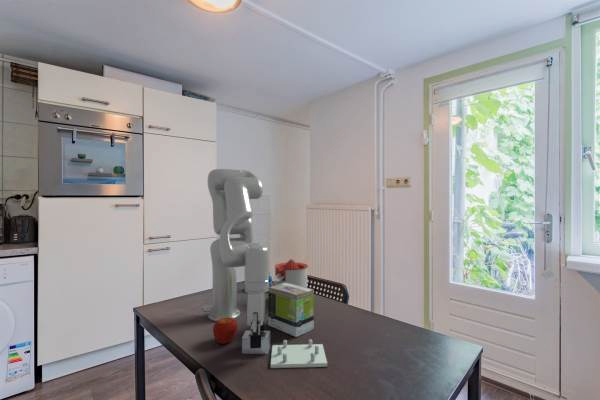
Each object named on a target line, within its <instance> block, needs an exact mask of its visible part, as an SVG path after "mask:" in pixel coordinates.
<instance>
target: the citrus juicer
mask: <svg viewBox="0 0 600 400" xmlns="http://www.w3.org/2000/svg"><path fill="white" fill-rule="evenodd" d="M308 267H309V266H308V264H306V263H304V262H296V261H295V260H293V259H292V258H291V259H289V260H288V261H287V262H281V263H277V264H275V265H274V272H275V273H274V275H275V276H274V286H275V285H279V284H283V283H290V284H294V285H298V286H302V287H306V288H308Z"/></svg>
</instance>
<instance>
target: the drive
mask: <svg viewBox="0 0 600 400" xmlns="http://www.w3.org/2000/svg"><path fill="white" fill-rule="evenodd" d="M250 334H251V330H245V331H244V333H243V335H242V337H241V354H248V355H249V354H252V355H255V354H256V355H268V354H269V352H270V348H271V330H264V331H260V334H261V348H250Z"/></svg>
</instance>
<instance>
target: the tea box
mask: <svg viewBox="0 0 600 400" xmlns="http://www.w3.org/2000/svg"><path fill="white" fill-rule="evenodd" d="M267 292H268V297H267V298H268V301H267V303H268V305H267V306H268V307H267V308H268V309H267V310H268V312H267V313H268V315H267V317H268V318H267V319H268V320H267V321H268V326H270V327H272V328H274V329H277V330H279V331H282V332H284V333H286V334H288V335H290V336H293V337H295V338H297V337H300V336H302V335H304V334H306V333H308V332H310V331H312V330H314V328H315V327H314V325H315V322H314V321H315V305H314V304H315V297H314V295H315V293H314V292H315V291H314V289H313V288H309V287H307V288H306V287H302V286H298V285H294V284H290V283H283V284H279V285H275V284H274V285H272V286H271V287H269V290H268V291H267Z"/></svg>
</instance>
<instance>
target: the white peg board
mask: <svg viewBox="0 0 600 400" xmlns="http://www.w3.org/2000/svg"><path fill="white" fill-rule="evenodd" d="M270 356H271V358H270V369H283V368H285V369H286V368H289V369H290V368H322V367H323V368H325V367H326V368H327V367H328V360H327V356H326V353H325V348H324V345H323V343H318V344H316V343H314V344H313V339H309V338H308V344H288V340H287V339H283V341H282V344H272V347H271V355H270Z"/></svg>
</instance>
